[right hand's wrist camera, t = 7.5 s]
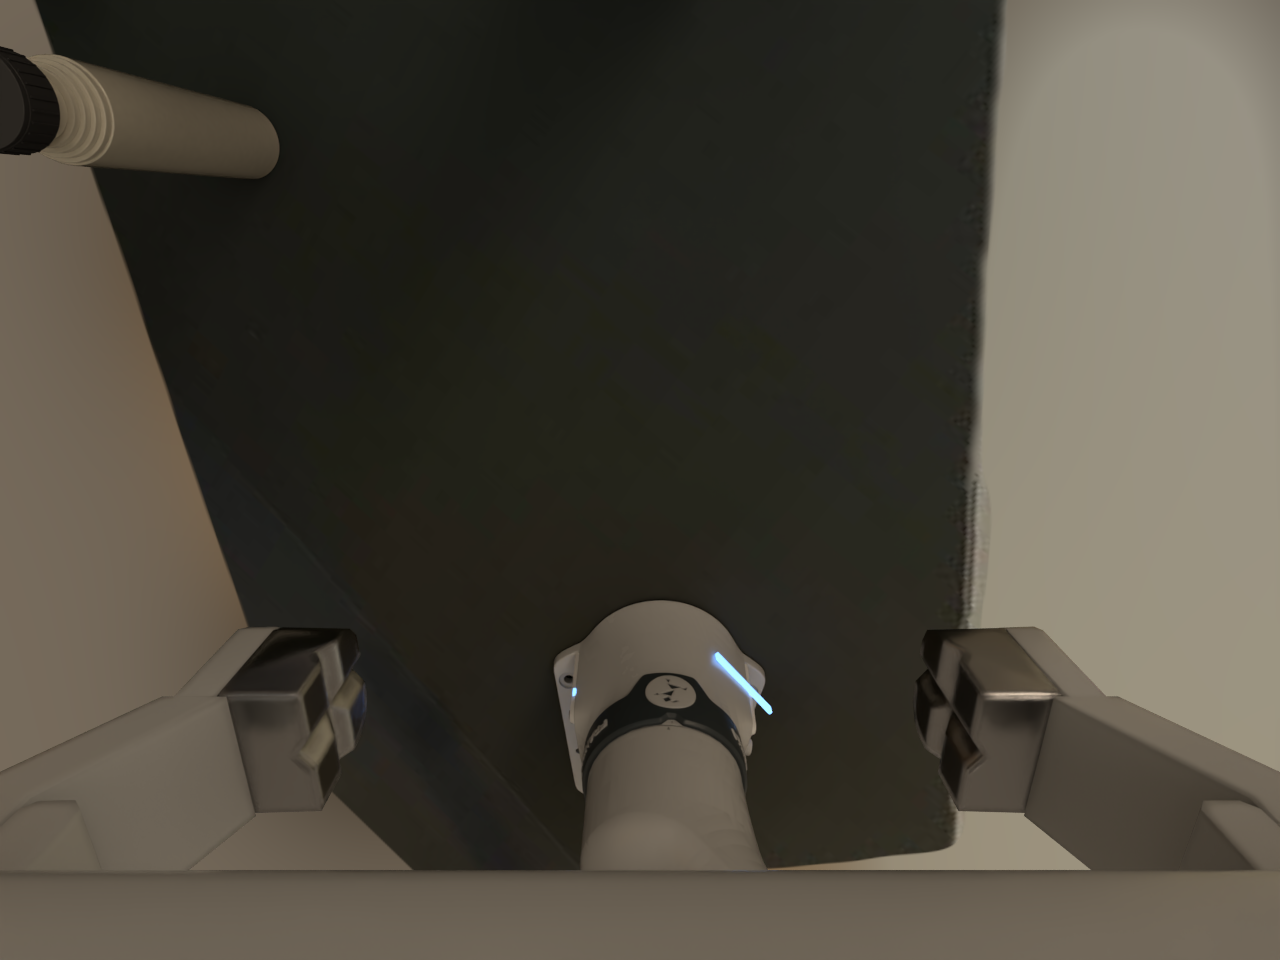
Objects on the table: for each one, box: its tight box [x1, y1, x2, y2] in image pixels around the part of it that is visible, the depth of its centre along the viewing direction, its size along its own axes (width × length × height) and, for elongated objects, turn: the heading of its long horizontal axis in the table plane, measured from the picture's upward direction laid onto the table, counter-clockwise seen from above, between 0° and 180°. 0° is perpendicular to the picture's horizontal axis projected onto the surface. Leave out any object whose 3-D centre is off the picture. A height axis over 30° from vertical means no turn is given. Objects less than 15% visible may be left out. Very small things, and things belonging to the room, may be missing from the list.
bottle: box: [27, 54, 279, 179], centre depth 39 cm, size 5×5×21 cm
